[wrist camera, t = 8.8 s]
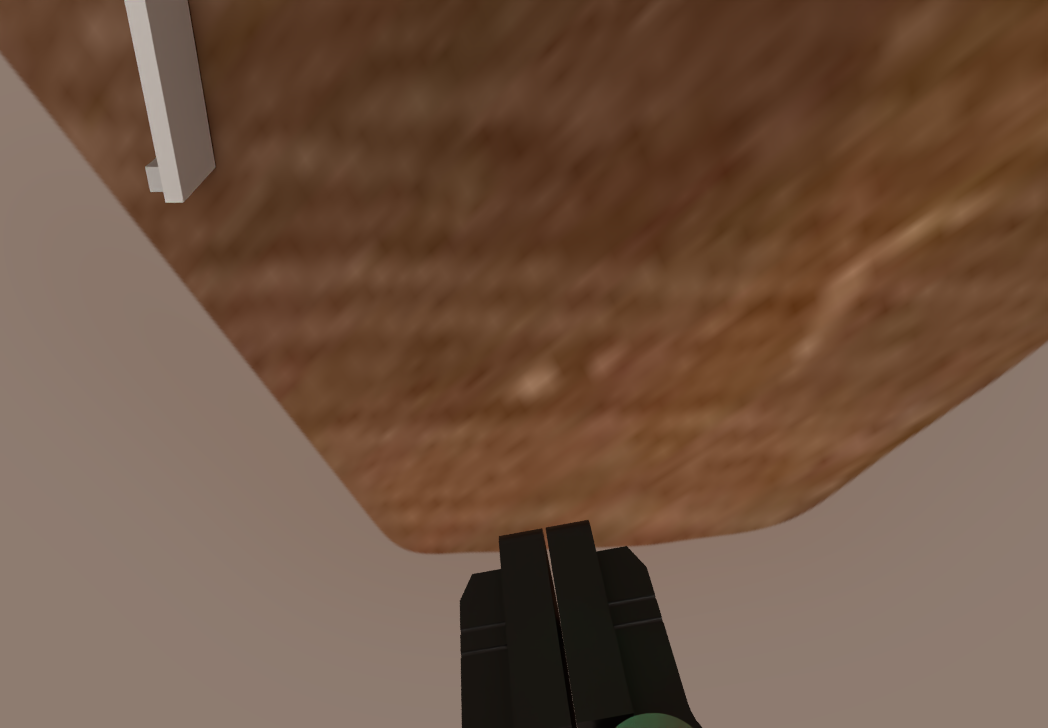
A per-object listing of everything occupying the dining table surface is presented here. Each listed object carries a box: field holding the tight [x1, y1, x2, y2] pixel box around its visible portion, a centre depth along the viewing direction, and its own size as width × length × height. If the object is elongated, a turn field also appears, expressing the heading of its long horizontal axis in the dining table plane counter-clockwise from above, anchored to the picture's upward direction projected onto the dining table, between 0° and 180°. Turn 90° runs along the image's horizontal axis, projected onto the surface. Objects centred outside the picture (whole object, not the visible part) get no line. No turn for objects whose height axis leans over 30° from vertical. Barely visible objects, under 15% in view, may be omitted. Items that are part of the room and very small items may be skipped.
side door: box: [124, 0, 215, 203], centre depth 35 cm, size 14×2×6 cm, turn 179°
